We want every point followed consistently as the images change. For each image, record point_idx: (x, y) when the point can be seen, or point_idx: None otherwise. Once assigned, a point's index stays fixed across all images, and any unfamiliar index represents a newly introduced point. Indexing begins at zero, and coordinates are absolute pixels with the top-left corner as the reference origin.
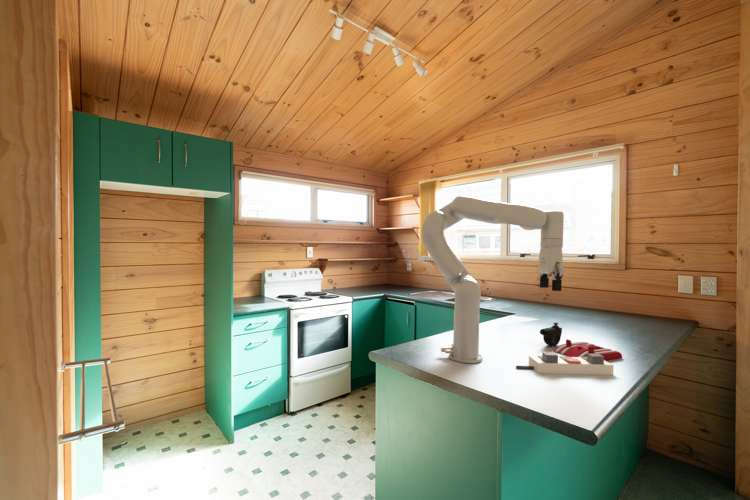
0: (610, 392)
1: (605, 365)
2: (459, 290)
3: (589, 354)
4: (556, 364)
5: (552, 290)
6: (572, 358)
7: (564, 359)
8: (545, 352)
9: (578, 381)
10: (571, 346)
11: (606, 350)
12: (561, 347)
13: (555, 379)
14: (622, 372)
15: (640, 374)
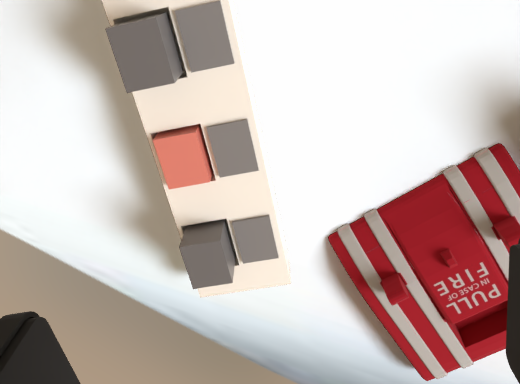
0: (7, 201)
1: None
2: None
3: (205, 244)
4: None
5: (18, 313)
6: (203, 167)
7: (207, 131)
8: (158, 35)
9: (74, 129)
10: (490, 235)
11: (440, 347)
12: (500, 189)
13: (54, 38)
14: (248, 311)
15: (244, 351)
